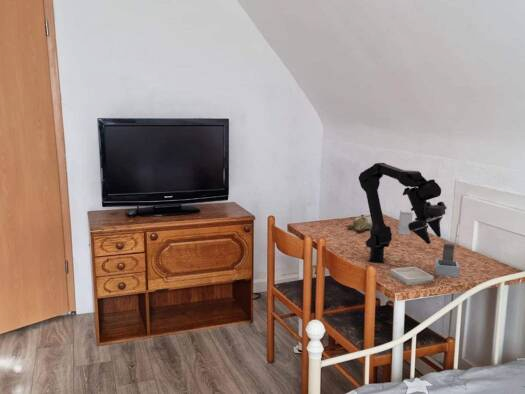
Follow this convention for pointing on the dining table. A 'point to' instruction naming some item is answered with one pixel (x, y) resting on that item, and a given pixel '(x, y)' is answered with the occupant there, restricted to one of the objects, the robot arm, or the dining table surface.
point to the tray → (411, 276)
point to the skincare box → (405, 222)
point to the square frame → (446, 269)
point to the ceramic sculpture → (361, 223)
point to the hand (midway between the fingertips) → (434, 240)
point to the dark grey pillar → (448, 254)
